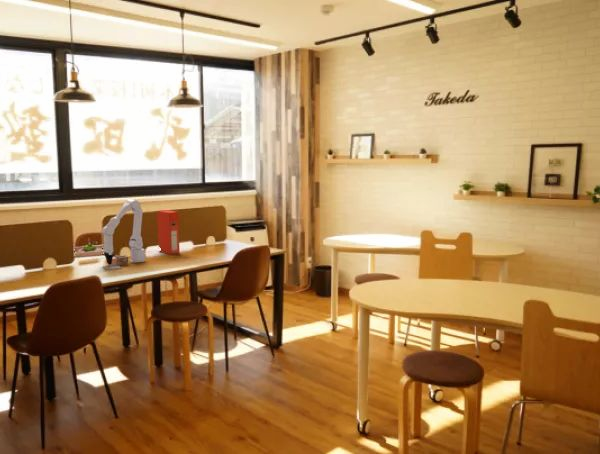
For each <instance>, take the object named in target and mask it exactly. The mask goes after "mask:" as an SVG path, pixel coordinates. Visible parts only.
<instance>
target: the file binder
mask: <svg viewBox="0 0 600 454" xmlns="http://www.w3.org/2000/svg"><path fill="white" fill-rule="evenodd" d="M179 220H180V219H179V212H178V211H174V210H169V209H163V210H157V234H158V248H159V247H160V248H161V251H162V252H163V254H167V255H170V256H173V255H177V254H180V225H179V224H180V223H179V222H180V221H179ZM162 252H161V253H162Z"/></svg>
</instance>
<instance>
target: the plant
mask: <svg viewBox="0 0 600 454" xmlns="http://www.w3.org/2000/svg"><path fill="white" fill-rule="evenodd" d="M87 241H88V244H86V245H82V247H83V246H84V247H85V249H78V250H77V251H75V253H78V252H91V251H103V249H102V248H98V247H96V246H97V245H98V242H97V241H92V243H91V240H90V238H88V239H87ZM94 244H95V245H94ZM86 246H87V247H86Z"/></svg>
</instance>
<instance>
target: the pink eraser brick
mask: <svg viewBox="0 0 600 454" xmlns="http://www.w3.org/2000/svg"><path fill="white" fill-rule="evenodd" d="M106 264H107V265H106V266H113V265H117V257H116V256H115V257H113V258H112V263H111V264H108V262H107V261H106Z"/></svg>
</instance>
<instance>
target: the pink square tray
mask: <svg viewBox="0 0 600 454" xmlns="http://www.w3.org/2000/svg"><path fill="white" fill-rule="evenodd" d="M96 245H97V246H96V247H98V248H102V247H103V245H104V244H100V245H98V244H96ZM84 246H86V245H84ZM84 246H83V245H82V246H73V247H74V249H75V257H74V258H79V257H91V256H92V257H93V256H103V255H102V254H103V252H102V251H91V252H78V253H76V252H77V250H78V249H85V247H84ZM86 247H87V246H86Z"/></svg>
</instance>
